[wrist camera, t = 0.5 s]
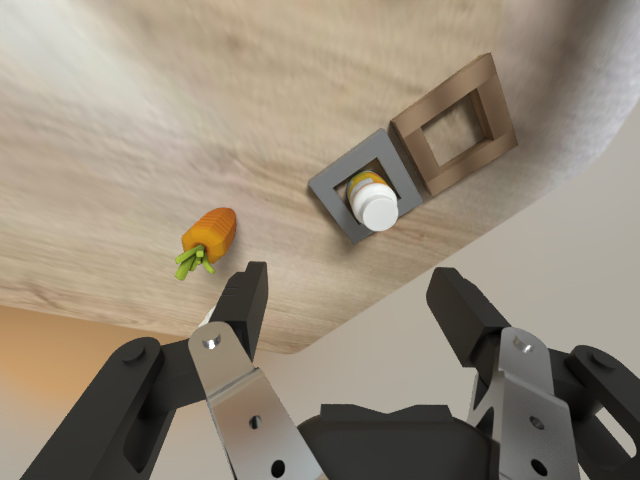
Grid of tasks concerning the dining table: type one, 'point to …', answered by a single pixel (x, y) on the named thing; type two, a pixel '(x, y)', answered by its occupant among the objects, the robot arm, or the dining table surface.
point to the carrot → (207, 241)
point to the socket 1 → (353, 161)
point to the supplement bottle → (372, 201)
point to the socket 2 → (491, 115)
